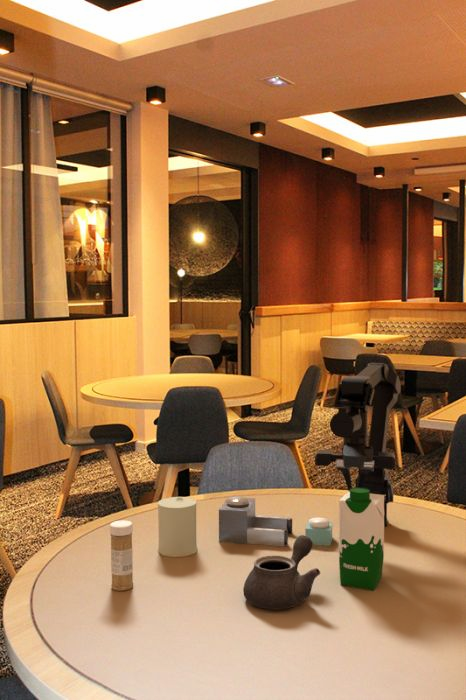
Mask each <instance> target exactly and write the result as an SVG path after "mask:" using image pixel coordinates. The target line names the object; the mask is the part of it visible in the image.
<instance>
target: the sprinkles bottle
mask: <svg viewBox="0 0 466 700" xmlns="http://www.w3.org/2000/svg"><path fill="white" fill-rule="evenodd" d="M133 530H134V529H133V523H132V522H131V521H130V520H116V521H113V522H111V523H110V525H109V534H110V545H111V546H110V567H111V568H110V569H111V570H110V572H111V588H112V589H113V590H114V591H120V592H121V591H123V592H124V591H128V590H130V589H132V588H133V587H134V582H133V581H134V580H133V578H134V577H133V572H134V568H133V565H134V564H133V563H134V561H133V559H134V558H133V557H134V555H133V553H134V551H133Z"/></svg>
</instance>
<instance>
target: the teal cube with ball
mask: <svg viewBox="0 0 466 700" xmlns="http://www.w3.org/2000/svg"><path fill="white" fill-rule="evenodd" d="M304 531H305V533H304V534H305V536H307V537H309V538H310V539H311V540H312V543H313V545H312V546H322V545H324V546H326V547H330V546H331V545H332V541H333V521H332V522H330V520H329V519H328V518H324V517H313V518H310V519H309V520H308V521H307V523H306V526H305V530H304ZM324 546H323V547H324Z"/></svg>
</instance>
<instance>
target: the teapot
mask: <svg viewBox="0 0 466 700" xmlns="http://www.w3.org/2000/svg"><path fill="white" fill-rule="evenodd" d="M292 546H293V547H292V555H291V557H287V556H283V555H265V556H262V557H261V556H260V557H258V558H257V559H256V560H255V561H254V562H253V568H252V569H251V571H250V572H249V574H248V576H247V577H246V579H245V581H244V584H243V590H242V591H243V596H244V598H245V600H246V602H248V603H250V604H252V605H253V606H256V607H259V608H263V609H267V610H268V609H269V610H284V609H289V608H292V607H295V606H298V605H300V604H301V603H303V602H304V601H305V600H307V599H308V598H309V597H310V596H311V592H312V587H313V584H314V582H315V579H316V578H317V577H318V576H320V574H321V570H320V569H318V568H317V567H316V568H312V569H311V570H309V571H307V572H306V573H304V574H300V572H299V570H298V567H299V563H300V562H301V560H303V559H304V558H305V557H307V556H308V555H309V554H310V553H311V551H312V549H313V546H314V545H313V543H312V540H311V539H310V538H309V537H307V536H305V535H304V534H302V535H298V536H297V537H296V538H295V541H294V543H293V545H292Z"/></svg>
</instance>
